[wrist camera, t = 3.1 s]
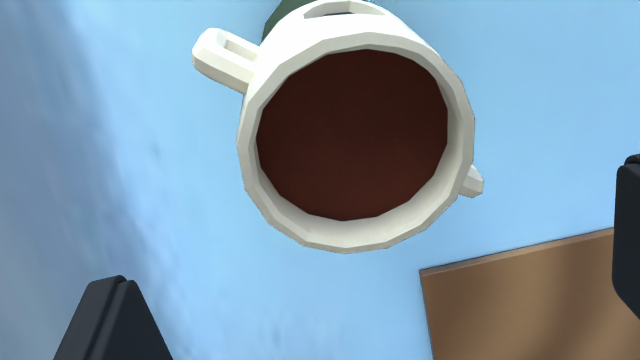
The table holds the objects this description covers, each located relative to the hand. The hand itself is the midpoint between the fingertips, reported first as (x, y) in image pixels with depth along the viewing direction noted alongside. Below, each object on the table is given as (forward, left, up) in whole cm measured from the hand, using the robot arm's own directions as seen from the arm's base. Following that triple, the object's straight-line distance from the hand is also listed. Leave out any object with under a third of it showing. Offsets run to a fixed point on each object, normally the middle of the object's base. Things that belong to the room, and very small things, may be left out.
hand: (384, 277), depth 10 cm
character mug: (0, 0, -19) cm, 19 cm away
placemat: (-11, +26, -19) cm, 34 cm away
